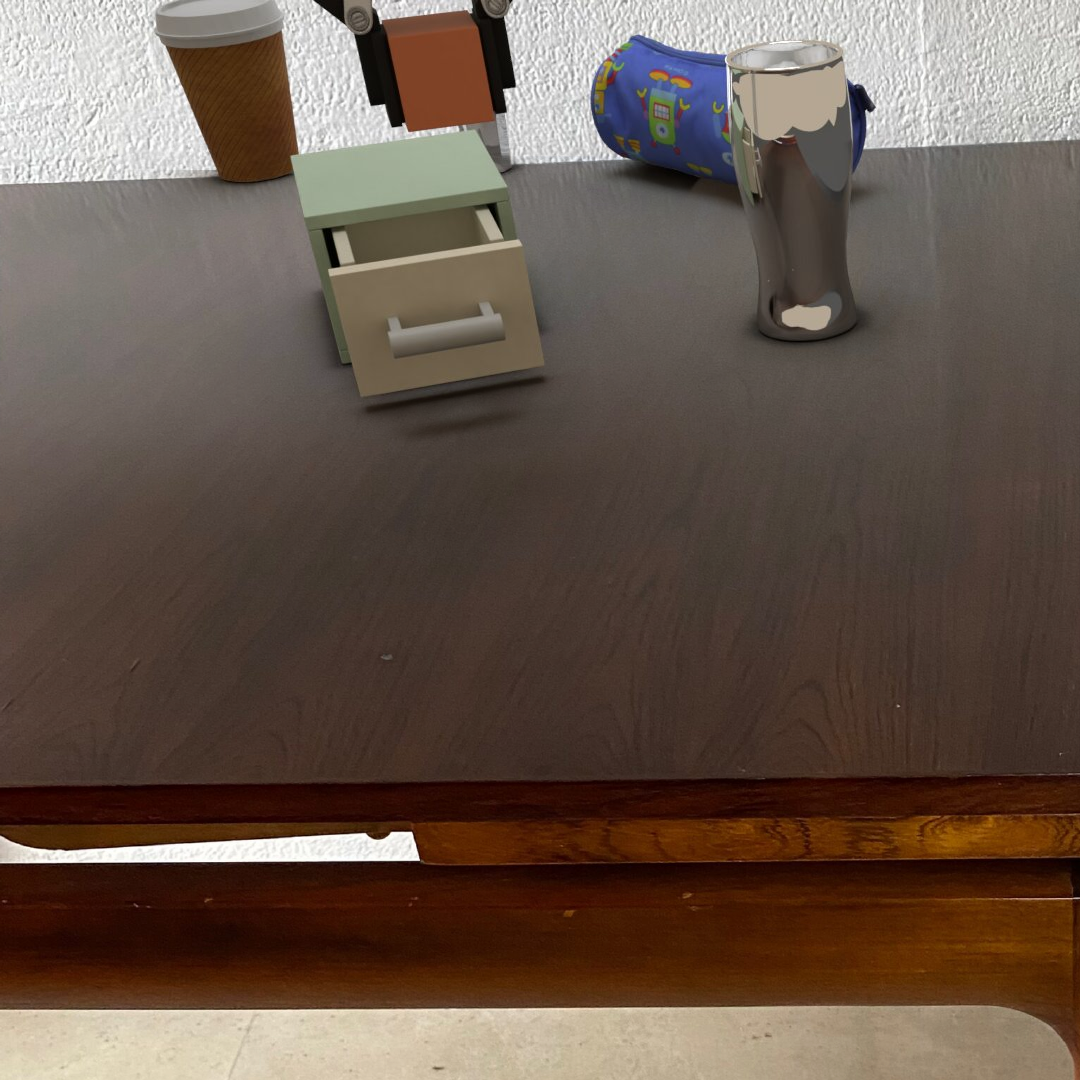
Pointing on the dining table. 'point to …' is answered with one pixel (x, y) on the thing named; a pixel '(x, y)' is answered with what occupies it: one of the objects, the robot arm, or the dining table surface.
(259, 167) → the disposable coffee cup
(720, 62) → the pencil case
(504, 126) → the milkshake
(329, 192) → the cabinet
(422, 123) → the block
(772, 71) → the beer glass
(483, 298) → the drawer
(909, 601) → the dining table surface
